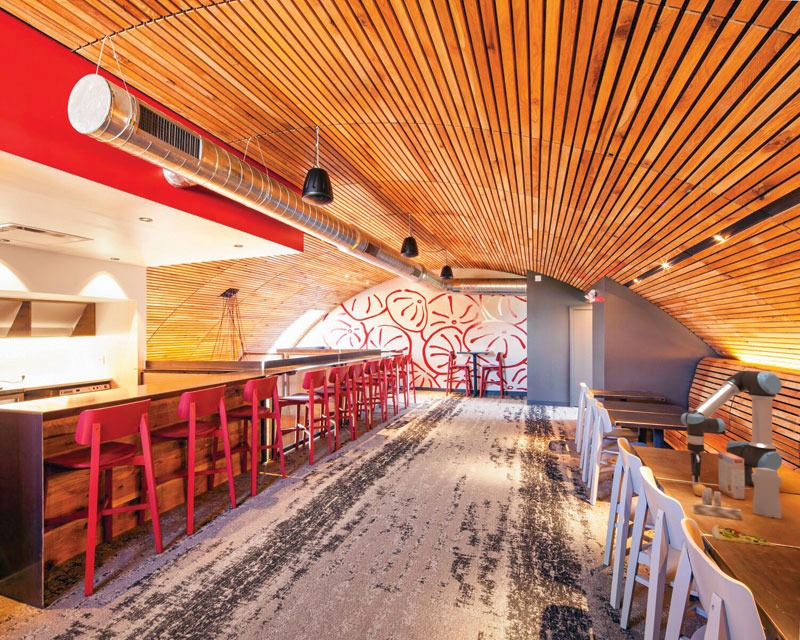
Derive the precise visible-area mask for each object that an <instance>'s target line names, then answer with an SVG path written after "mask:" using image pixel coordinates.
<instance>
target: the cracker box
mask: <svg viewBox="0 0 800 640" xmlns="http://www.w3.org/2000/svg"><path fill="white" fill-rule="evenodd" d="M717 456H718V459H717V460H718V463H717V464H718V465H717V466H718V491H719V492H721V493H722V494H723V493H724V494H725V495H726V496H728V497H730V498H731V499H734V500H743V499H744V501H745V500H746V493H745V492H746V487H745V486H746V485H745V475H744V459H743V458H740V457H738V456H736V455H734V454H731V453H728V452H725V451H718V453H717Z"/></svg>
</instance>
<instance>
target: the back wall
mask: <svg viewBox="0 0 800 640" xmlns="http://www.w3.org/2000/svg"><path fill="white" fill-rule="evenodd" d="M693 513H694V515H695V514H696V515H702V514H703V516H709V515H711V516H710V517H717V516H718V518H724V517H725V518H726V519H731V518H733V519H732V520H738V519H741V520H740V521H742V519H743V518H742V517H743V515H742V510H741V509H739V508H730V507H725V506H721V507H718V506H715V505H712V506H710V505H702V504H701V503H693Z"/></svg>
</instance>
